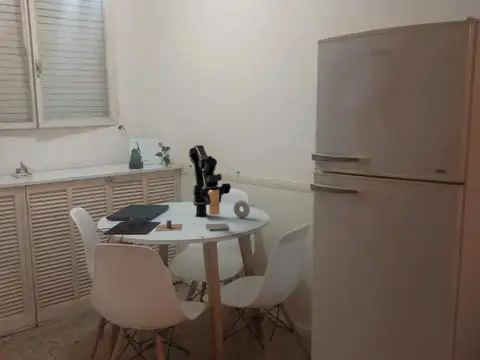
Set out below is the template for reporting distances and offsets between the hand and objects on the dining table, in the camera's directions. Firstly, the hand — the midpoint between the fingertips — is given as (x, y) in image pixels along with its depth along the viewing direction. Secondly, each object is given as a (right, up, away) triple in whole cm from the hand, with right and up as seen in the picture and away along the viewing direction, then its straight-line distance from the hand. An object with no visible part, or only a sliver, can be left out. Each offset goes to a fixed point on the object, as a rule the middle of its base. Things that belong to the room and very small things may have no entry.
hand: (214, 203), depth 249 cm
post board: (-23, -13, +2) cm, 27 cm away
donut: (+13, -10, +26) cm, 31 cm away
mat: (+1, -13, +4) cm, 14 cm away
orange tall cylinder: (0, -5, +2) cm, 6 cm away
